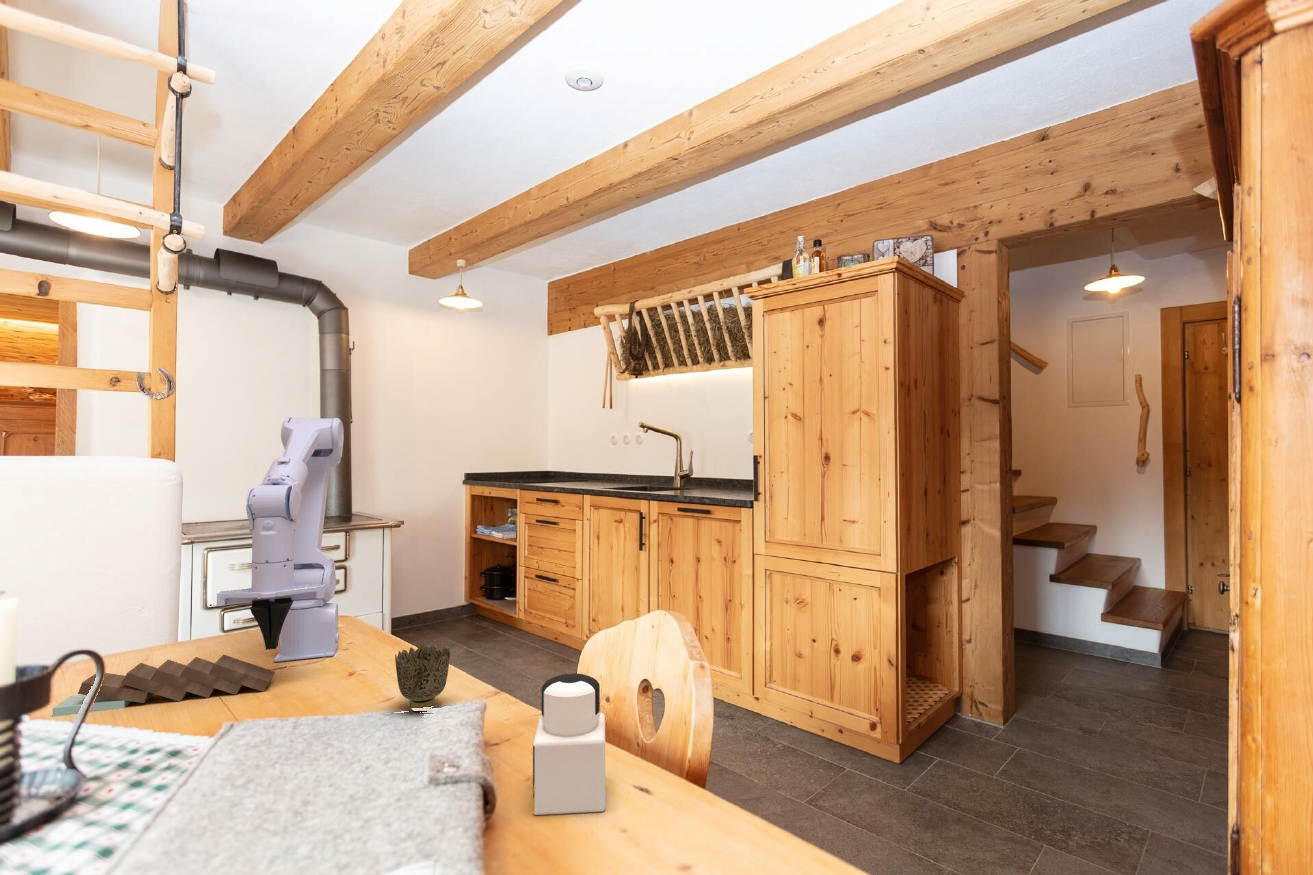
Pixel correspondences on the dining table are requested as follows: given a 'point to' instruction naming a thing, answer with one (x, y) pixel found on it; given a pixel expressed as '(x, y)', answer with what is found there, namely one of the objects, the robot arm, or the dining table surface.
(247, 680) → the domino
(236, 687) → the domino
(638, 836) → the dining table surface
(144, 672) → the domino
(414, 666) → the cup
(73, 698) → the domino
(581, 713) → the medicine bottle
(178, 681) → the domino
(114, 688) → the domino
